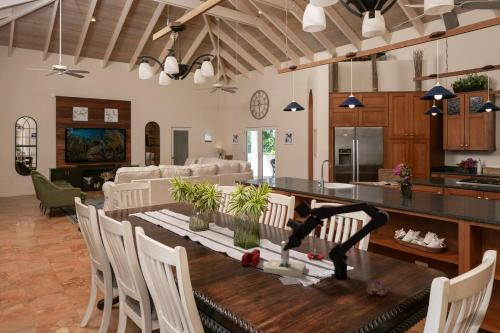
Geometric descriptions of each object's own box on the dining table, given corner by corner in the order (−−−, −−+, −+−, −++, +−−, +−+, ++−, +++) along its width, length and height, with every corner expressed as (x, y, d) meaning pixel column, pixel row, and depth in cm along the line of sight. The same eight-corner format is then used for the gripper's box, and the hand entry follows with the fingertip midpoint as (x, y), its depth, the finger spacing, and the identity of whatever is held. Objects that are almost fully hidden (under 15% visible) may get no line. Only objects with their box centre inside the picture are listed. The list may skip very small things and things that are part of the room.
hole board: (305, 268, 173) (305, 263, 172) (301, 277, 161) (301, 271, 161) (270, 264, 178) (270, 259, 178) (263, 272, 167) (263, 267, 167)
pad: (301, 283, 154) (301, 283, 154) (284, 285, 152) (284, 284, 152) (295, 276, 162) (295, 276, 162) (278, 278, 160) (278, 278, 160)
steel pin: (288, 272, 167) (288, 243, 167) (280, 271, 168) (280, 242, 167) (289, 269, 171) (289, 241, 170) (281, 268, 172) (282, 240, 171)
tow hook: (307, 255, 195) (307, 259, 186) (307, 231, 194) (307, 235, 185) (322, 255, 193) (323, 260, 184) (323, 232, 193) (323, 236, 184)
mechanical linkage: (254, 268, 174) (254, 258, 173) (241, 266, 176) (241, 256, 176) (264, 258, 189) (264, 248, 188) (251, 256, 191) (251, 247, 191)
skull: (376, 286, 151) (376, 272, 150) (394, 292, 145) (394, 277, 145) (362, 295, 142) (363, 280, 142) (381, 301, 137) (381, 285, 137)
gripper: (298, 209, 176) (277, 230, 179) (293, 217, 158) (269, 240, 161) (314, 226, 174) (292, 246, 178) (311, 235, 156) (286, 258, 160)
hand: (285, 247), depth 169 cm, fingers open, 9 cm apart
